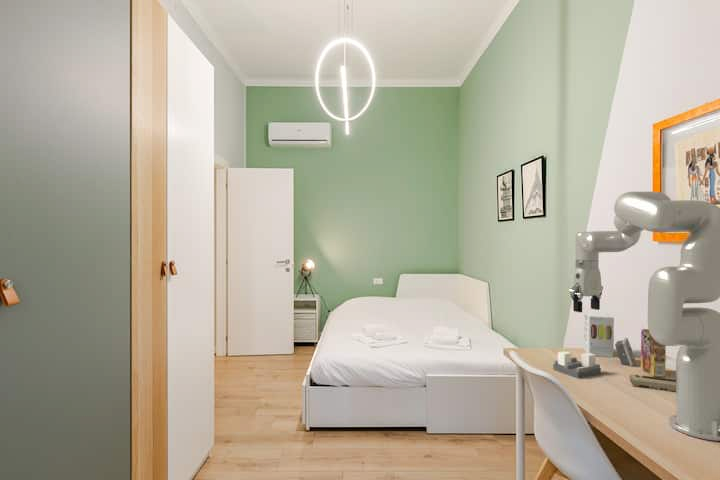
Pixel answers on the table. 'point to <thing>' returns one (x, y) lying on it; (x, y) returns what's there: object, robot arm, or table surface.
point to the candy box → (652, 355)
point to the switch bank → (577, 368)
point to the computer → (653, 382)
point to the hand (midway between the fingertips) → (586, 310)
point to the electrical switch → (625, 352)
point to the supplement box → (599, 334)
